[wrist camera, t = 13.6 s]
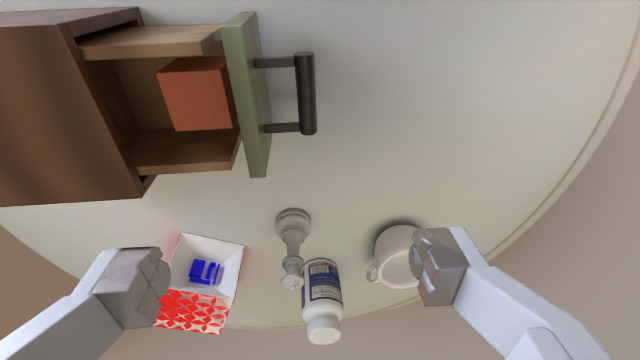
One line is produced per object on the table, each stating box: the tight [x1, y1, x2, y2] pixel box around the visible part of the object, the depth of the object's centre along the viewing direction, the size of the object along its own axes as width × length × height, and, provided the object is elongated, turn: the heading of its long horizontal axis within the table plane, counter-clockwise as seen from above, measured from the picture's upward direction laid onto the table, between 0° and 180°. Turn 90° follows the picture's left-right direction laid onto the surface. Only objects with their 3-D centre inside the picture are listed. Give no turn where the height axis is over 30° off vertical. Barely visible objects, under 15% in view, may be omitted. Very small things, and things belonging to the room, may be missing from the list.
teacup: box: [367, 225, 419, 289], centre depth 38 cm, size 10×8×5 cm
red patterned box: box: [154, 232, 244, 335], centre depth 37 cm, size 8×8×8 cm
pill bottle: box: [301, 259, 344, 345], centre depth 39 cm, size 5×5×10 cm
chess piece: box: [276, 209, 311, 291], centre depth 33 cm, size 4×4×10 cm
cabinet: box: [0, 6, 157, 207], centre depth 22 cm, size 14×12×10 cm
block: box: [156, 56, 238, 131], centre depth 23 cm, size 4×4×4 cm
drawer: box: [74, 12, 317, 178], centre depth 23 cm, size 17×10×8 cm, turn 92°
